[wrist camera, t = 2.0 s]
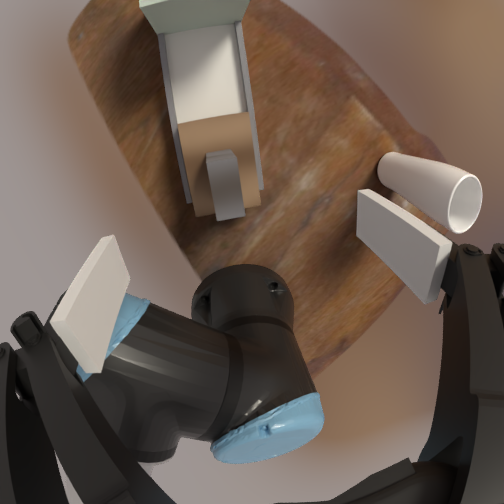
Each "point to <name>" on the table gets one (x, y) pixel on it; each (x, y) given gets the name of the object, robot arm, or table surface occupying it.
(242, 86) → the track
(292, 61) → the table surface
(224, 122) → the carriage
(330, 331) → the table surface
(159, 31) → the end cabinet
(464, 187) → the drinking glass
